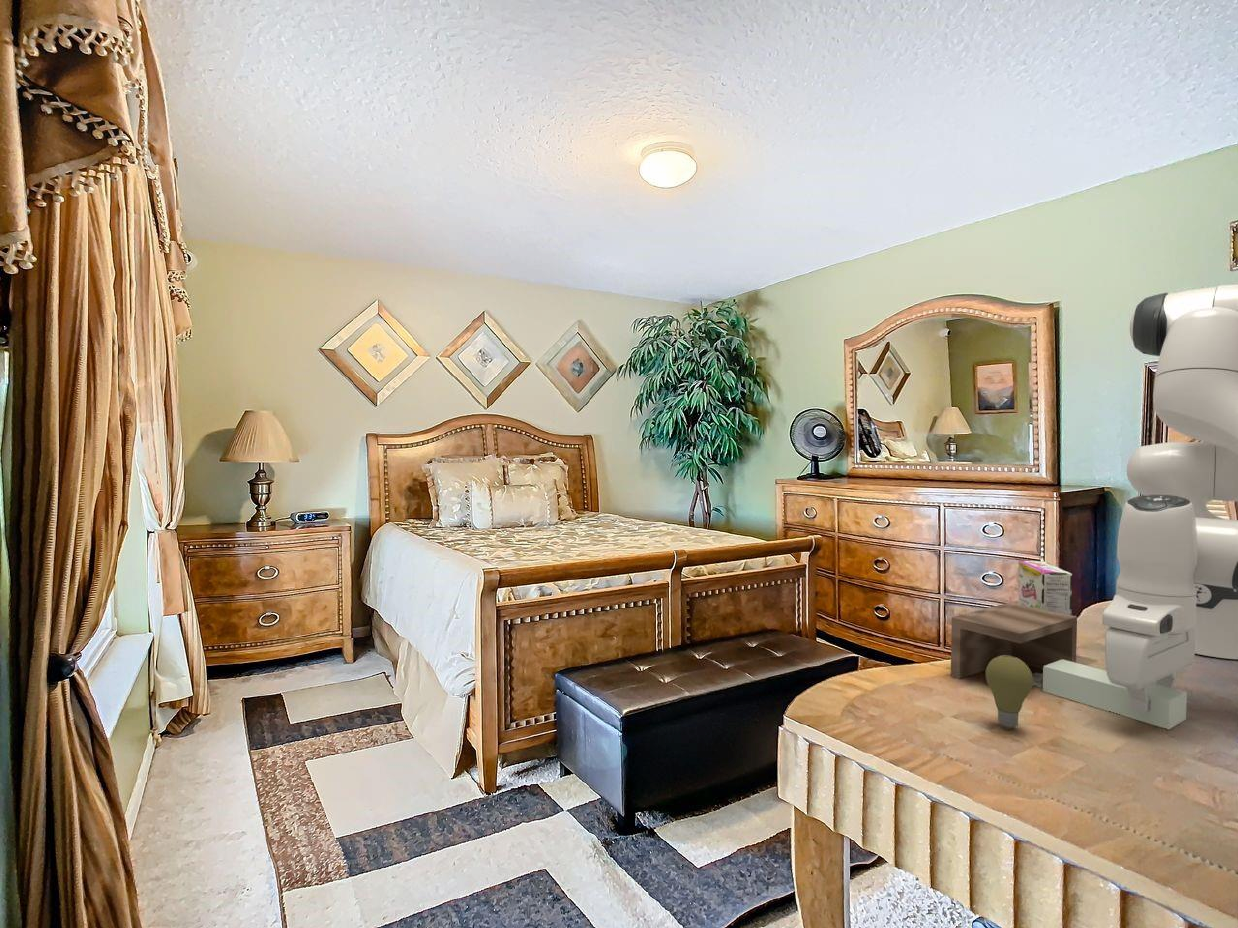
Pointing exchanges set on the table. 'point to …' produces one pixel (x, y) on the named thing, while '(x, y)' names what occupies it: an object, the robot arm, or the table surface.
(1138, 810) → the table surface
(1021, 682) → the light bulb
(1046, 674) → the mint green beam
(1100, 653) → the table surface
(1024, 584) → the candy bar box
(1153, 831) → the table surface
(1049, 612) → the walnut shelf
